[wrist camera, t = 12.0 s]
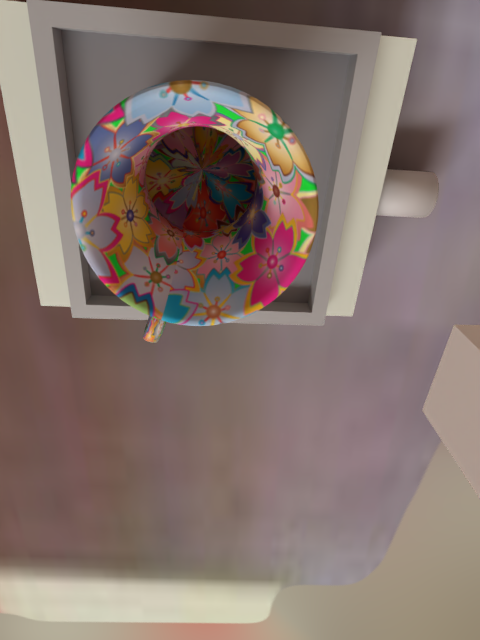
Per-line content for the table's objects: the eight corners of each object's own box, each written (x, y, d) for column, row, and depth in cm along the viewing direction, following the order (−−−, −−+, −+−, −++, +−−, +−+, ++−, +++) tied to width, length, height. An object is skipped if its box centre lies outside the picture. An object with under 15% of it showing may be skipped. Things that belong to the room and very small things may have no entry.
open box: (59, 281, 33) (33, 316, 28) (17, 9, 24) (-31, -7, 19) (385, 293, 35) (413, 328, 30) (452, 49, 26) (504, 43, 22)
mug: (148, 46, 22) (103, 26, 13) (307, 120, 24) (365, 148, 15) (95, 250, 27) (36, 340, 18) (229, 296, 30) (237, 396, 20)
